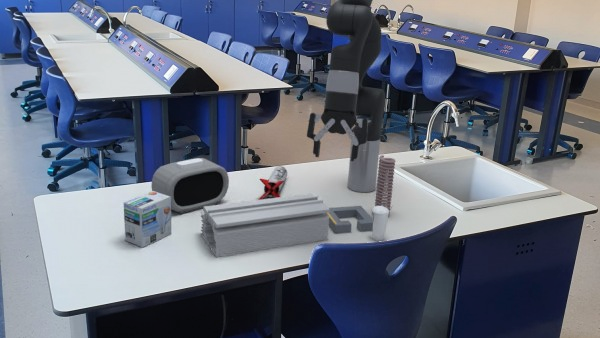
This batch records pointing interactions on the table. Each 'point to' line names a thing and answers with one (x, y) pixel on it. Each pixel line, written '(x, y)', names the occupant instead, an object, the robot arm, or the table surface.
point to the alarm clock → (191, 183)
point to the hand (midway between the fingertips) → (334, 158)
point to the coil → (383, 178)
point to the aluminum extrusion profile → (264, 224)
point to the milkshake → (379, 222)
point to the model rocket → (274, 182)
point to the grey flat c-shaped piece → (347, 212)
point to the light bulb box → (147, 218)
